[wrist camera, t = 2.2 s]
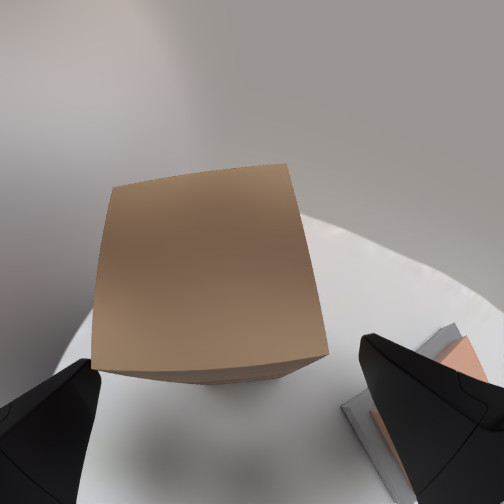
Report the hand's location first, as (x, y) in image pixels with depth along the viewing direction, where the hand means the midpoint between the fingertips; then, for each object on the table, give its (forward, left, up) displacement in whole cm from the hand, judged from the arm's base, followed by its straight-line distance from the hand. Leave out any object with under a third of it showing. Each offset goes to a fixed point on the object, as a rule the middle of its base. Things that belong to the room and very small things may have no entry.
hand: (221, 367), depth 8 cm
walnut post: (+2, -1, -10) cm, 10 cm away
